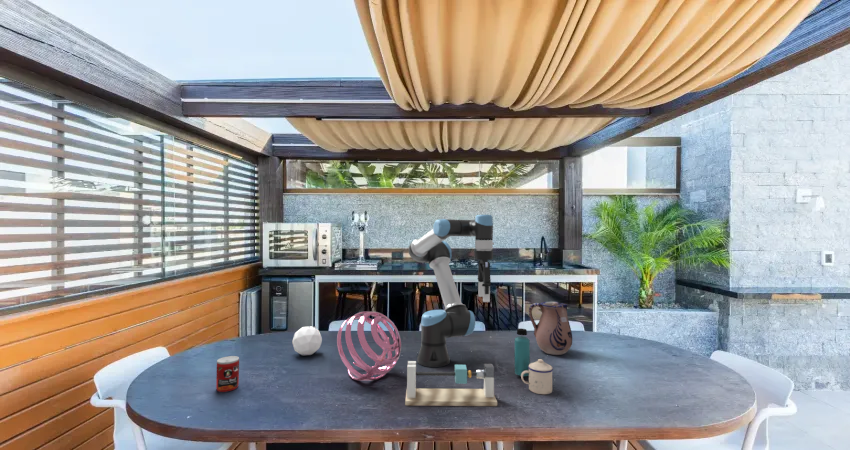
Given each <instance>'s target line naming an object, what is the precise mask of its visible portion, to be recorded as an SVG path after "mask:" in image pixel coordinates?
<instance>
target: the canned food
mask: <svg viewBox="0 0 850 450" xmlns="http://www.w3.org/2000/svg"><path fill="white" fill-rule="evenodd" d="M239 376H240V357H239V356H235V355H230V356H223V357H219V358H218V359H217V360H216V377H215V378H216V383H215V384H216V385H215V389H216V390H217V392H220V393H225V392H231V391H234V390H237V388H238V387H239V384H240V383H239V382H240V381H239V380H240V379H239V378H240V377H239Z"/></svg>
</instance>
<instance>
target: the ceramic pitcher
mask: <svg viewBox="0 0 850 450" xmlns="http://www.w3.org/2000/svg"><path fill="white" fill-rule="evenodd" d="M537 307H538V308H539V309H540V311H541V315H540V318H539V321H538V323H536V321H535V320H534V317H533V312H532V311H533V309H534V308H537ZM568 316H569V315H568V304H567V303H565V302H564V303H563V302H562V303H559V302H558V301H542V302H535V303H532V304H530V306H529V308H528V317H529V319H530V321H531V324H532V326H533V334H534V337H535V340H536V343H537V346H538V347H539V349H540V350H541V351H542V352H544V353H546V354H548V355H552V356H561V355H565V354H566V353H568V351H569V350H570V349H571V347H572V345H573V334H572V328H571V324H570V320H569V317H568Z"/></svg>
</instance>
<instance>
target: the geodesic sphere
mask: <svg viewBox="0 0 850 450" xmlns="http://www.w3.org/2000/svg"><path fill="white" fill-rule="evenodd" d="M322 341H323V338H322V334H321V333H320V330H318V328H317V326H311V325H308V326H302V327H301V328H299V329H298V330H297V331H296V332H294V334H293V338H292V342H291V343H292V346H293V349H294V352H296V353H298V354H299V355H301V356H311V355H314V353H316V352H317V351H318V350H319V349H320V348H321V345H322Z"/></svg>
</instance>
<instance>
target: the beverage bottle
mask: <svg viewBox="0 0 850 450" xmlns="http://www.w3.org/2000/svg"><path fill="white" fill-rule="evenodd" d="M516 335H517V336H516V337H515V338H514V356H513V358H514V367H513V369H514V374H515V375H517V376H520V377H521V373H522V372H523V371H529V368H528V366H529V364H530V363H531V355H530V354H531V350H530V348H531V347H530V344H531V343H530V339H529V338H528V337H527V335H528V331H527V329H525V328H517V329H516ZM527 376H528V377H529V373H525V374H524V375H523V377H527Z"/></svg>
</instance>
